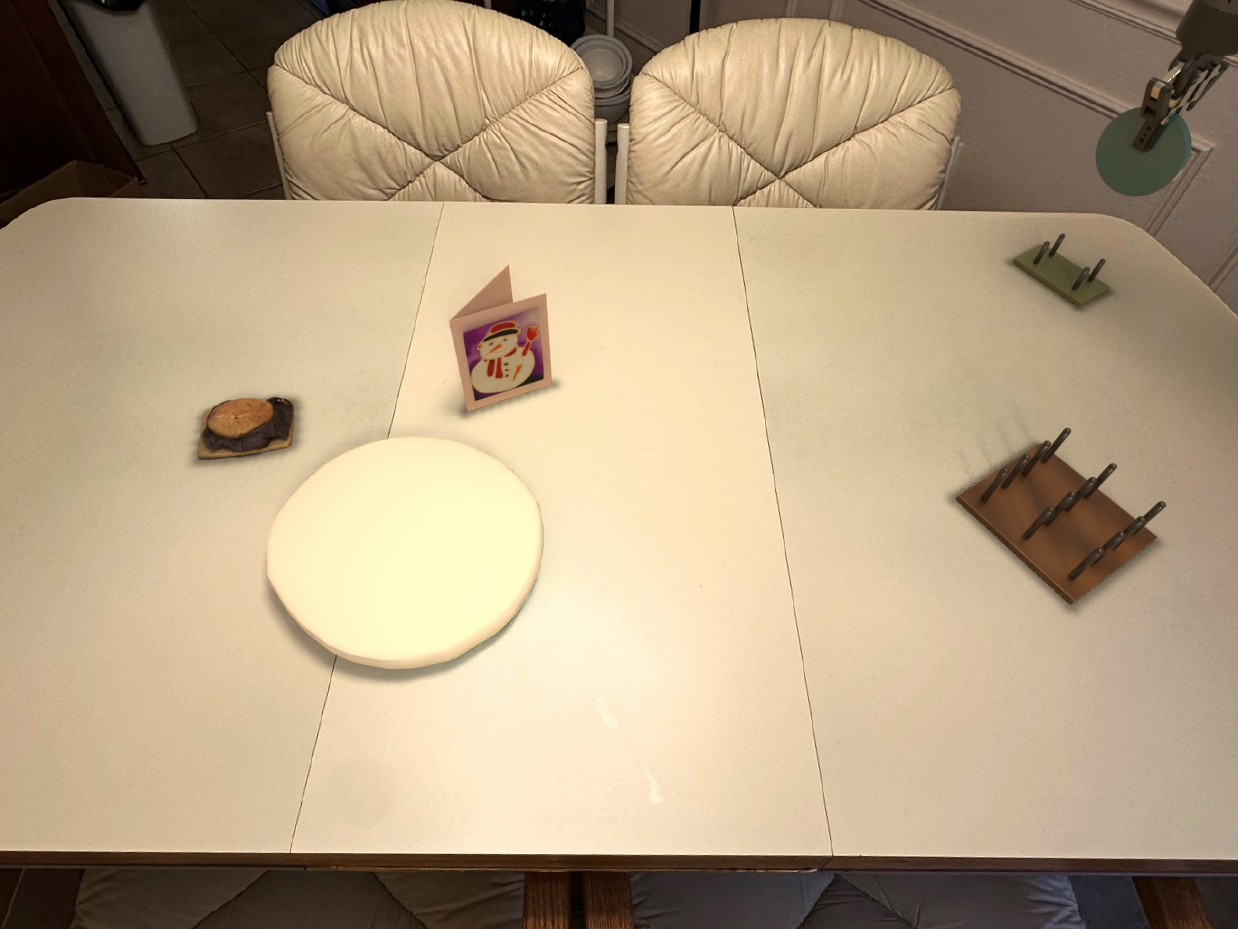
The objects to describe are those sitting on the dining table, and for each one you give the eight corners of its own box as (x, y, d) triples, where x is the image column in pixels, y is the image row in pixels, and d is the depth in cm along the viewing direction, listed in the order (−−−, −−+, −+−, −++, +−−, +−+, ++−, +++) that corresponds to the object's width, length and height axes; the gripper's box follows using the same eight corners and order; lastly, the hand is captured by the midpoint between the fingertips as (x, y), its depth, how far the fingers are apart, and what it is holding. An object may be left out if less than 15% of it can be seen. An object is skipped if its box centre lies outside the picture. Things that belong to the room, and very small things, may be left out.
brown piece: (197, 463, 87) (183, 444, 84) (207, 410, 92) (194, 390, 89) (292, 451, 89) (281, 431, 86) (296, 399, 93) (286, 378, 90)
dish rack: (1038, 446, 92) (1065, 410, 87) (1153, 540, 84) (1192, 507, 79) (955, 499, 87) (979, 464, 82) (1070, 604, 79) (1105, 573, 74)
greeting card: (469, 416, 93) (451, 325, 81) (451, 376, 96) (431, 285, 85) (554, 388, 96) (549, 297, 84) (533, 351, 100) (525, 259, 88)
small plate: (1085, 169, 103) (1130, 89, 94) (1157, 209, 97) (1212, 128, 89) (1080, 171, 102) (1124, 91, 94) (1151, 212, 97) (1206, 130, 88)
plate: (580, 473, 82) (476, 699, 66) (576, 504, 87) (478, 720, 72) (350, 390, 84) (198, 590, 69) (359, 425, 89) (220, 618, 74)
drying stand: (1041, 248, 117) (1056, 221, 113) (1107, 291, 111) (1126, 264, 107) (1012, 262, 114) (1026, 236, 111) (1078, 307, 108) (1096, 280, 105)
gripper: (1234, 23, 77) (1137, 176, 91) (1303, -3, 82) (1202, 146, 95) (1168, -3, 81) (1085, 148, 95) (1238, -27, 85) (1149, 120, 99)
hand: (1144, 146), depth 95 cm, fingers closed on small plate, 1 cm apart
